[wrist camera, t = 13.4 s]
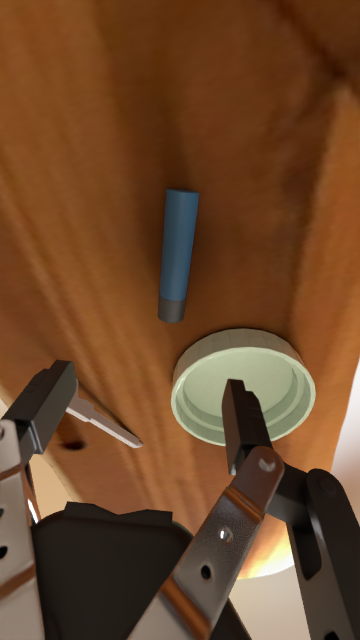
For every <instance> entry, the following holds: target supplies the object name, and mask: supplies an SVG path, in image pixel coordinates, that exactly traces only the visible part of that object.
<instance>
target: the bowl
mask: <svg viewBox="0 0 360 640" xmlns="http://www.w3.org/2000/svg"><path fill="white" fill-rule="evenodd" d="M228 378H229V379H239V380H243V381H244V385H245V389H246V391H253V393H254V394H255V395H256V397H257V398H258V399H259V402H260V405H261V411H262V412H263V416H264V419H265V423H266V426H267V430H268V433H269V437H270V440H271V441H274V440H277V439H279V438H281V437H283V436H285V435H287V434H289V433H290V432H291V431H293V430H294V429H295V428H297V427H298V426H299V425H300V424H301V423H302V422H303V421H304V420H305V419H306V418H307V416H308V415H309V413H310V411H311V409H312V408H313V405H314V400H315V395H316V393H315V385H314V381H313V379H312V377H311V375H310V373H309V372H308V370H307V368H306V366H305V365H304V363H303V361H302V360H301V358H300V356H299V354H298V353H297V351H296V350H295V349H294V348H293V347H292V346H291V345H290V344H289V343H288V342H286V341H285V340H283V339H281V338H280V337H278V336H276V335H274V334H271V333H268V332H265V331H262V330H254V329H231V330H225V331H221V332H217V333H214V334H211V335H209V336H207V337H205V338H203V339H201V340H199V341H197V342H196V343H195V344H193V345H192V346H191V347H190V348H188V349H187V350H186V351H185V353H184V354H183V355H182V356H181V358H180V359H179V360H178V362H177V365H176V367H175V369H174V374H173V383H172V393H171V406H172V411H173V414H174V416H175V417H176V419H177V421H178V423H179V424H180V425H181V426H182V427H183V428H184V429H185V430H186V431H187V432H189V433H190V434H192V435H193V436H195V437H197V438H199V439H201V440H203V441H206V442H208V443H212V444H216V445H221V446H226V444H225V435H224V427H223V419H222V409H221V405H222V398H223V394H224V390H225V387H226V383H227V380H228Z"/></svg>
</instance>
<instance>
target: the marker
mask: <svg viewBox="0 0 360 640" xmlns="http://www.w3.org/2000/svg"><path fill="white" fill-rule="evenodd" d="M198 201H199V192H196V191H190V190H183V189H172V188H168V189H166V201H165V216H164V231H163V246H162V261H161V275H160V290H159V305H158V318H159V319H160V320H162V321H164V322H167V323H178V322H180V321H182V320H183V318H184V310H185V302H186V295H187V287H188V279H189V271H190V263H191V255H192V248H193V240H194V232H195V224H196V216H197V209H198Z"/></svg>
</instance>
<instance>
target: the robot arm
mask: <svg viewBox="0 0 360 640" xmlns="http://www.w3.org/2000/svg"><path fill="white" fill-rule="evenodd" d="M76 386H77V382H76V375H75V369H74V363H73V362H72V361H65V360H56V361H55V362H54V363H53V365H52V366H51V367H50V369H43V370H42V371H40V372H39V373H38V374H36V375H35V376H34V377H33V378H32V380H31V381H30V382H29V383H28V385H27V386H26V387H25V389H24V390H23V392H22V393H21V394H20V395H19V396H18V398H17V399H16V400H15V402H14V403H13V404H12V405H11V407H10V408H9V409H8V411H7V412H6V413H5V414H4V416H3V417H2V418H1V419H0V640H252V639H251V637H250V635H249V634H248V632H247V630H246V628H245V626H244V624H243V622H242V621H241V619H240V617H239V615H238V613H237V612H236V610H235V608H234V606H233V604H232V603H231V601H230V599H229V597H228V596H229V594H230V592H231V589H232V587H233V585H234V583H235V581H236V579H237V577H238V574H239V572H240V570H241V568H242V566H243V563H244V561H245V559H246V557H247V555H248V553H249V550H250V548H251V546H252V544H253V542H254V539H255V537H256V535H257V533H258V531H259V529H260V526H261V524H262V522H263V519H264V515H265V513H267V514H269V515H271V516H273V517H276V518H278V519H280V520H282V521H284V522H286V526H287V531H288V535H289V540H290V545H291V549H292V554H293V559H294V563H295V568H296V573H297V577H298V582H299V587H300V591H301V596H302V600H303V605H304V610H305V615H306V619H307V624H308V629H309V633H310V637H311V640H360V526H359V524H358V521H357V519H356V517H355V514H354V512H353V510H352V507H351V505H350V502H349V500H348V498H347V495H346V493H345V491H344V489H343V487H342V485H341V483H340V482H339V481H338V480H337V479H336V478H335V477H334V476H333V475H332V474H330V473H329V472H327V471H325V470H322V469H317V468H315V469H311V470H310V471H309V472H308V473H306V472H304V471H301V470H299V469H297V468H294V467H292V466H290V465H288V464H286V463H285V462H284V461H283V460H282V459H281V457H280V456H279V454H278V453H277V452H275V451H274V449H273V447H272V444H271V440H270V437H269V433H268V430H267V426H266V423H265V419H264V416H263V412H262V411H261V405H260V402H259V399H258V398H257V397H256V395H255V394H254V393H253V391H246V389H245V385H244V381H243V380H239V379H229V378H228V380H227V383H226V387H225V390H224V394H223V398H222V405H221V409H222V419H223V427H224V435H225V444H226V452H227V461H228V469H229V474H230V475H235V477H234V479H233V480H232V482H231V483H230V485H229V486H228V487H226V488H225V490H224V491H223V493H222V494H221V496H220V497H219V499H218V500H217V502H216V504H215V505H214V507H213V508H212V510H211V511H210V513H209V515H208V516H207V518H206V519H205V521H204V522H203V524H202V525H201V527H200V529H199V530H198V532H197V533H196V535H195V536H193V535H192V534H191V533H190V532H189V531H188V530H187V529H186V528H185V527H184V526H182V525H181V524H179V523H177V522H175V521H173V520H172V513H173V512H169V511H159V510H149V509H146V510H141V511H136V512H131V513H126V514H121V515H117V514H115V513H112V512H110V511H108V510H106V509H103V508H101V507H99V506H97V505H94V504H88V503H78V502H67V504H66V506H65V509H64V510H62V511H58V512H56V513H53V514H51V515H49V516H46V517H45V518H43V519H41V516H40V512H39V509H38V505H37V501H36V495H35V490H34V485H33V480H32V474H31V469H30V464H29V460H30V459H31V457H32V455H33V454H42V455H43V453H44V451H45V449H46V447H47V445H48V443H49V441H50V439H51V438H52V436H53V434H54V432H55V430H56V428H57V426H58V424H59V422H60V421H61V419H62V417H63V415H64V413H65V411H66V409H67V407H68V406H69V404H70V402H71V400H72V398H73V396H74V394H75V391H76Z"/></svg>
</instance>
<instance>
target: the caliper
mask: <svg viewBox="0 0 360 640" xmlns="http://www.w3.org/2000/svg"><path fill="white" fill-rule="evenodd" d="M76 382H77V386H76V391H75V394H74V396H73V398H72V400H71V402H70V404H69V406H68V407H67V409H66V411H67V412H69V413H70V414H72V415H74V416H76V417H77V418H79V419H81V420H83V421H84V422H87V421H89V422H91V423H93V424H94V425H96V426H98V427H99V428H101V429H103V430H104V431H106V432H108V433H109V434H111V435H113V436H114V437H116V438H118V439H119V440H121V441H123V442H124V443H126V444H128V445H129V446H131V447H133V448H136V447H141V446H143V444H142V443H140V442H139V439H138V438H137V437H135V436H134V435H132V434H130V433H129V432H127V431H126V430H124V429H123V428H121V427H119V426H118V425H116V424H115V423H113V422H112V421H110V420H109V419H107V418H106V417H104V416H103V415H101V414H99V413H98V412H96V411H95V410H93V407H94V405H93V404H92V403H89V402H88V401H87V400H85V399H80V398H79V397H78V379H77V378H76Z"/></svg>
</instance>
